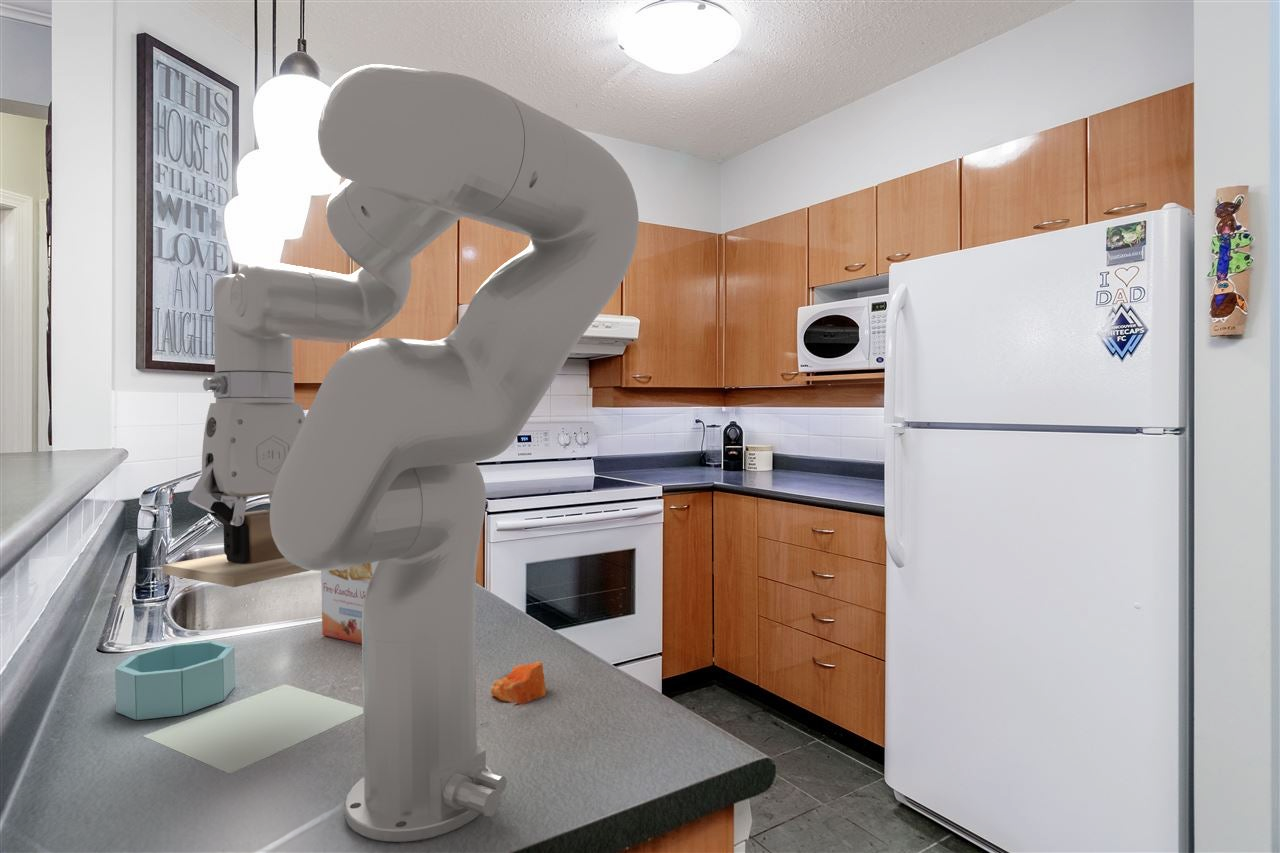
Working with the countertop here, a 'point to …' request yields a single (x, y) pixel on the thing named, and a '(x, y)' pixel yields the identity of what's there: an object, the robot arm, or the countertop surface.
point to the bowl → (174, 679)
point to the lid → (223, 572)
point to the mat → (255, 727)
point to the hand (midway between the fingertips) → (259, 555)
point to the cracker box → (345, 600)
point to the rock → (521, 684)
